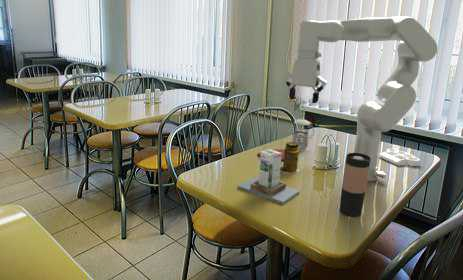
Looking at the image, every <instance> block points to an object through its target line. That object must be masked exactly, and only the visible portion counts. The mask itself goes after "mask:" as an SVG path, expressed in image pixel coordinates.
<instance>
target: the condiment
mask: <svg viewBox="0 0 463 280" xmlns="http://www.w3.org/2000/svg"><path fill="white" fill-rule="evenodd" d="M299 153H300V151H299V150H298V144H297V143H295V142H293V141H290V142H289V141H287V142H286V143H285V148H284V161H282V162H283V164H282V166H280V173H283V174H285V175H289V174H292V173H294V174H295V173H298V172H301V171H302V170H300V169H299V168H298V163H299Z"/></svg>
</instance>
